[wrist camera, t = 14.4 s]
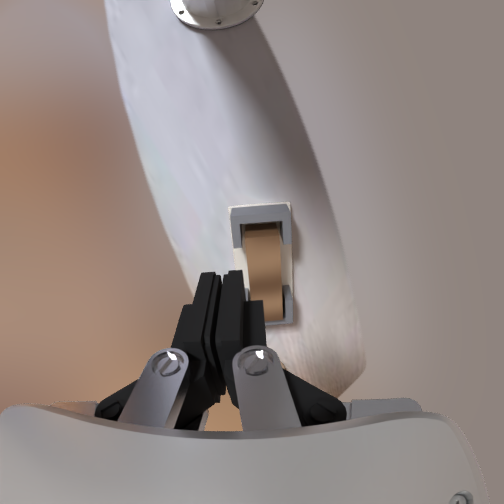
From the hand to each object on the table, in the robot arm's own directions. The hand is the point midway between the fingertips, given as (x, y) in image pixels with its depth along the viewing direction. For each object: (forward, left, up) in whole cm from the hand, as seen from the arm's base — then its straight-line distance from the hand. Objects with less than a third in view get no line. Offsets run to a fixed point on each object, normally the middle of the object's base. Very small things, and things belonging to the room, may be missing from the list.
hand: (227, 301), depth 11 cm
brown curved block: (+11, +2, -25) cm, 27 cm away
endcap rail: (+10, +2, -26) cm, 28 cm away
